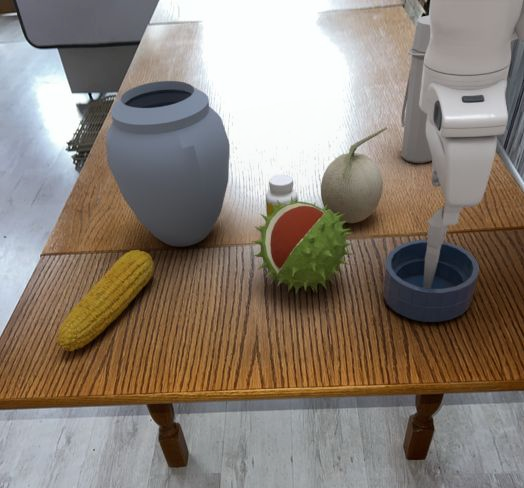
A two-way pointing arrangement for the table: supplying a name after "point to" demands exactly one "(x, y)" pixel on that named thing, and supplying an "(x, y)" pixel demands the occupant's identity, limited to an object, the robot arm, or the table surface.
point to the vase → (169, 159)
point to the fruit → (352, 185)
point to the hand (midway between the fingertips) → (443, 202)
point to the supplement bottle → (280, 192)
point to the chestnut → (302, 244)
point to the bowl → (443, 287)
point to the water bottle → (416, 100)
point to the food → (106, 300)
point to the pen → (433, 246)
